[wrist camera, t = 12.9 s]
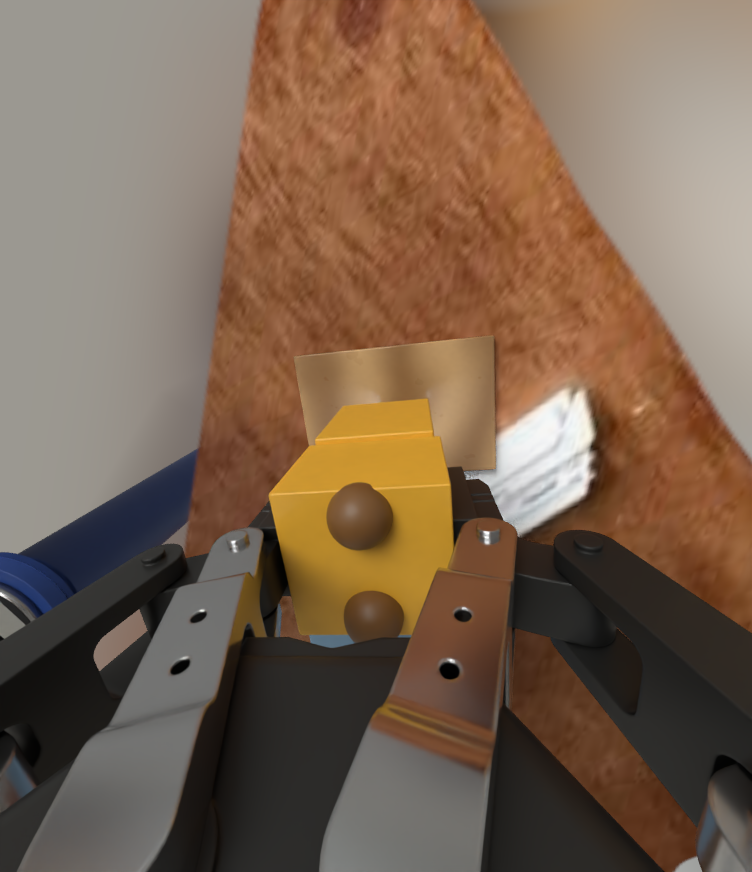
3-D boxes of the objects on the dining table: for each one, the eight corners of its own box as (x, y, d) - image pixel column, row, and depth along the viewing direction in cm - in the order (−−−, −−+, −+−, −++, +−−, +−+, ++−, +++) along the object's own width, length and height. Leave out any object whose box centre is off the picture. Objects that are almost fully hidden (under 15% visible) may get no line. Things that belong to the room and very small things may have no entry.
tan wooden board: (316, 476, 27) (314, 480, 26) (295, 355, 24) (293, 356, 24) (494, 466, 25) (496, 469, 25) (492, 334, 23) (494, 335, 22)
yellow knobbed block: (351, 497, 18) (291, 667, 9) (338, 405, 17) (251, 502, 8) (439, 492, 18) (463, 670, 9) (432, 397, 16) (454, 491, 7)
